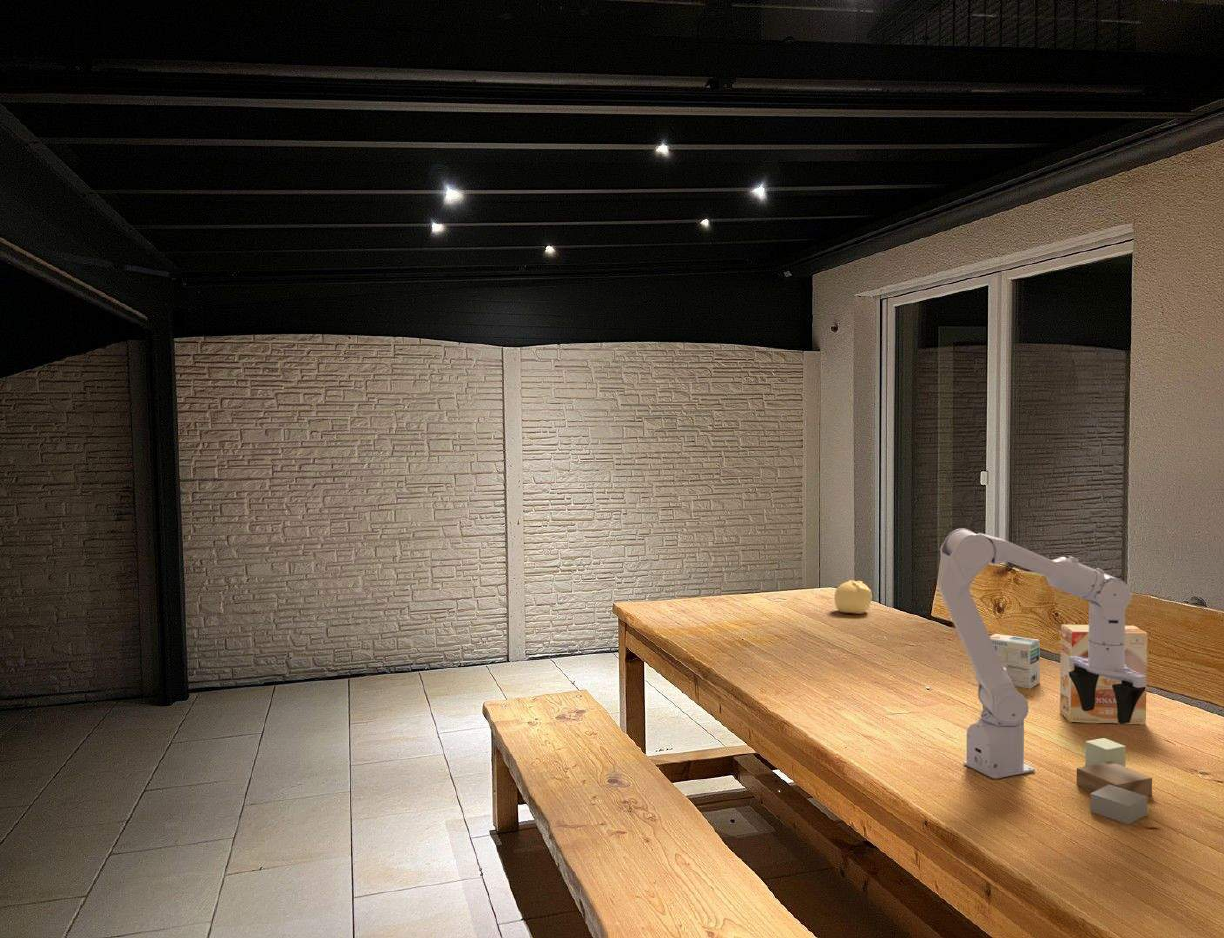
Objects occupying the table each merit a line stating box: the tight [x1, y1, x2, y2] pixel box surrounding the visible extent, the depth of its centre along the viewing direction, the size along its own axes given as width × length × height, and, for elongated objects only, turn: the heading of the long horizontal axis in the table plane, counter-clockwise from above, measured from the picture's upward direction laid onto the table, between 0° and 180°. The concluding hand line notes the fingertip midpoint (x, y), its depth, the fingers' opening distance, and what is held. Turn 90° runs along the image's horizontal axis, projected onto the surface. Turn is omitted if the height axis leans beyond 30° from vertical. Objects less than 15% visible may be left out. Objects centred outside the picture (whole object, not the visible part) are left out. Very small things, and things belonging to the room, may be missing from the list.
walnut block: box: [1076, 761, 1153, 797], centre depth 155 cm, size 8×8×3 cm
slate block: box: [1089, 785, 1148, 826], centre depth 146 cm, size 6×6×3 cm
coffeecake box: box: [1059, 623, 1149, 726], centre depth 191 cm, size 15×7×20 cm, turn 82°
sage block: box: [1084, 737, 1127, 767], centre depth 163 cm, size 4×4×5 cm
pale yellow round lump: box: [834, 579, 873, 615], centre depth 299 cm, size 11×12×11 cm
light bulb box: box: [989, 633, 1041, 689], centre depth 218 cm, size 11×7×11 cm, turn 47°
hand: (1105, 716), depth 163 cm, fingers open, 7 cm apart
